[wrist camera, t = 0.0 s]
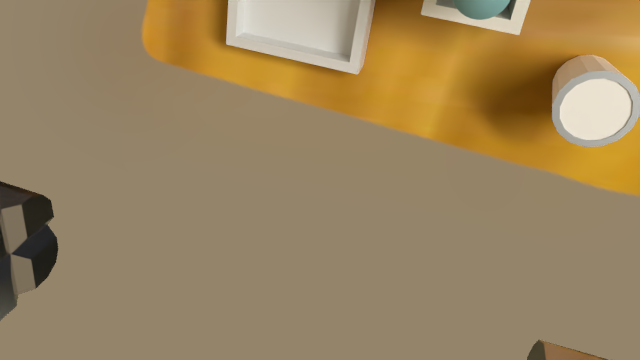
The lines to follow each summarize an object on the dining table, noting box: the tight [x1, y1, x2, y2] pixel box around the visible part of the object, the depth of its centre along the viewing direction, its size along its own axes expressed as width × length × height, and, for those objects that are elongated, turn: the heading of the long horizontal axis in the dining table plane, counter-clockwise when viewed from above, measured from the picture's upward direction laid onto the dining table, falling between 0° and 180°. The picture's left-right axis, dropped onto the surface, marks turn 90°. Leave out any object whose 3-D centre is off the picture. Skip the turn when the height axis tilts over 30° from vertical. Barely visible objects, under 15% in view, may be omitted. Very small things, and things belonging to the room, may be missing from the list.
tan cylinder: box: [552, 55, 640, 147], centre depth 49 cm, size 7×7×7 cm
